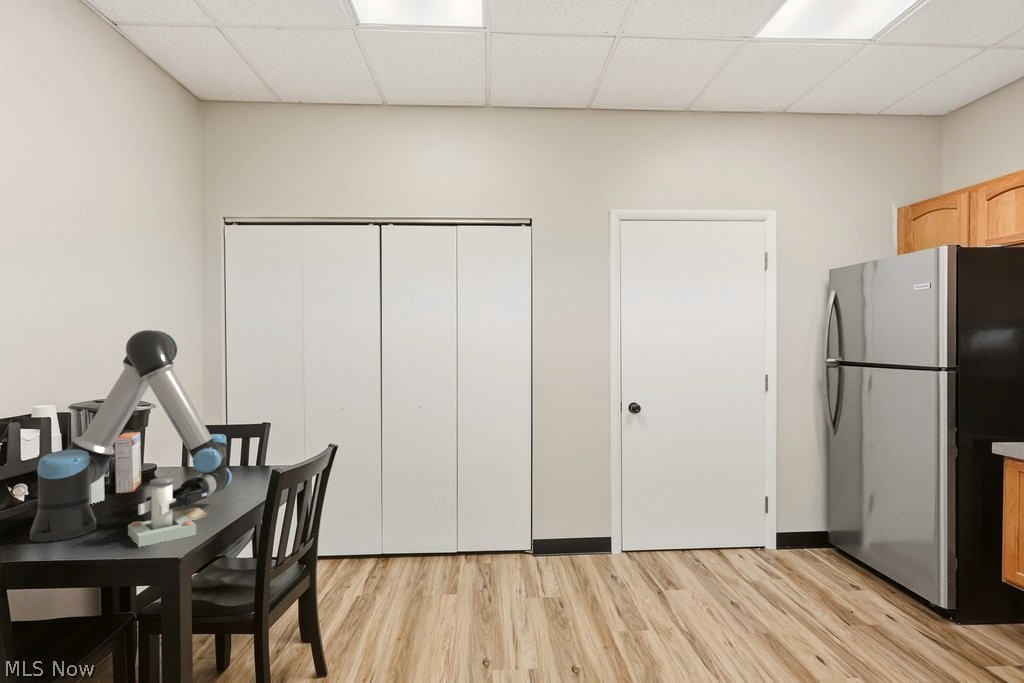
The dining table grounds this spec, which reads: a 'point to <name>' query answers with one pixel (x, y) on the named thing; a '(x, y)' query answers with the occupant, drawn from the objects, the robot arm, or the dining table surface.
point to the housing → (161, 531)
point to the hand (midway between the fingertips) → (150, 509)
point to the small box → (96, 491)
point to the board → (192, 513)
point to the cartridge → (159, 495)
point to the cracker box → (128, 462)
